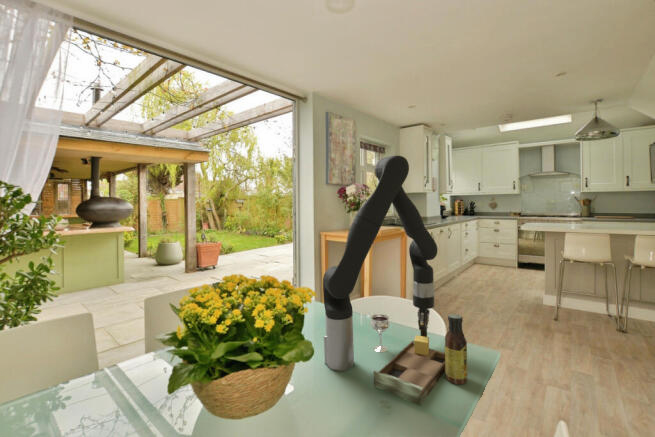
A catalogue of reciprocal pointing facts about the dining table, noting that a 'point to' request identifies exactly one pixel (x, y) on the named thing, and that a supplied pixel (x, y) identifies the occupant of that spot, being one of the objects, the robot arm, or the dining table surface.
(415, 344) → the mustard block
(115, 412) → the dining table surface
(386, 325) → the wineglass
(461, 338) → the sauce bottle
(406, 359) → the trap deck
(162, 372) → the dining table surface
